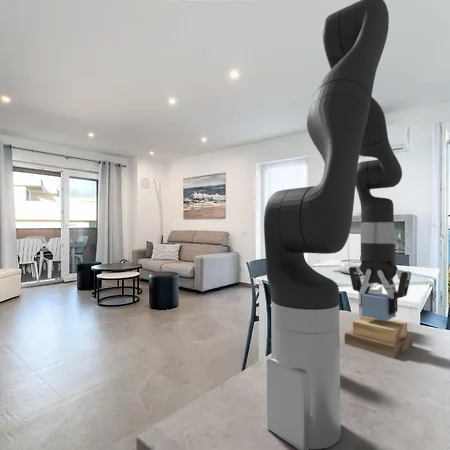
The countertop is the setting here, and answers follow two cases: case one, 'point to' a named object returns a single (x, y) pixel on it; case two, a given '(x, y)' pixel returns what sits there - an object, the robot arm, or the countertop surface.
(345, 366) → the countertop surface
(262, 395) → the countertop surface
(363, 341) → the walnut base slab
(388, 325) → the oak top slab
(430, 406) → the countertop surface
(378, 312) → the slate block
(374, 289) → the ink cartridge box
